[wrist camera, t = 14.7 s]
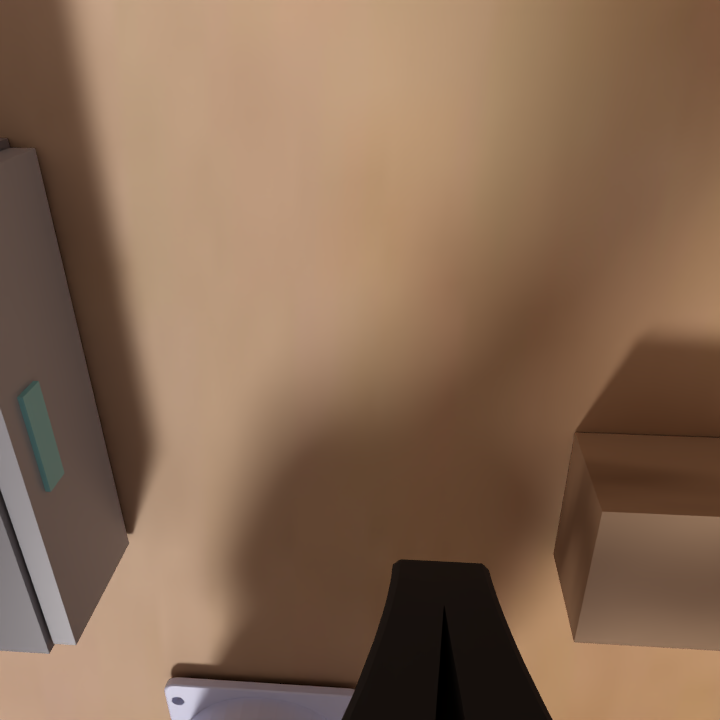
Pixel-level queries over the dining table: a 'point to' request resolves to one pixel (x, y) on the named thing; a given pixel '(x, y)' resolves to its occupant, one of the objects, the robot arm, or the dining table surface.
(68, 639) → the grey shallow open box
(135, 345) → the dining table surface
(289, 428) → the dining table surface
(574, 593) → the pedestal
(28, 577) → the block
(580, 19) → the dining table surface
